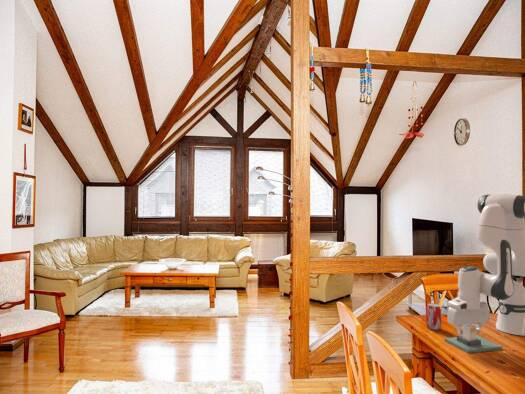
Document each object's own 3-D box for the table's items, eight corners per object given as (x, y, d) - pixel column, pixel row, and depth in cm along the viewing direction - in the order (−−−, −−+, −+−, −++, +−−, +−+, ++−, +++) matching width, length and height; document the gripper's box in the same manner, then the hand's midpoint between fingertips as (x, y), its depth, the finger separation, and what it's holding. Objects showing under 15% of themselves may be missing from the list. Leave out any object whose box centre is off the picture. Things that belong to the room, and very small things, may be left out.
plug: (469, 340, 169) (469, 323, 169) (477, 344, 165) (477, 326, 165) (461, 341, 168) (462, 323, 168) (469, 345, 164) (469, 327, 164)
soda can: (442, 331, 185) (442, 307, 185) (427, 330, 186) (427, 306, 186) (439, 326, 192) (439, 303, 192) (424, 325, 193) (424, 302, 193)
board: (476, 337, 176) (476, 331, 176) (502, 349, 162) (502, 342, 162) (444, 340, 172) (444, 334, 172) (468, 353, 158) (468, 345, 158)
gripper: (482, 299, 172) (482, 329, 172) (445, 302, 167) (445, 332, 167) (493, 303, 166) (493, 333, 166) (455, 306, 161) (455, 337, 161)
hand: (468, 333), depth 167 cm, fingers open, 8 cm apart
